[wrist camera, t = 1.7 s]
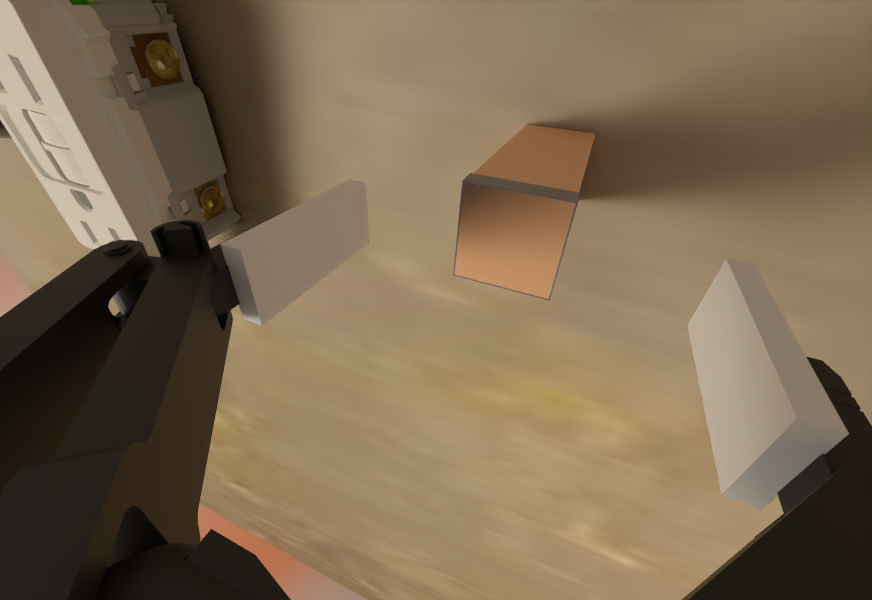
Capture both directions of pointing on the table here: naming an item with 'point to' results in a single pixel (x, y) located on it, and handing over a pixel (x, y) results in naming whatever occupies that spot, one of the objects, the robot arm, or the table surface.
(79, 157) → the electrical outlet
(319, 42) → the table surface
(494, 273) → the copper brown rectangular block
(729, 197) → the table surface
